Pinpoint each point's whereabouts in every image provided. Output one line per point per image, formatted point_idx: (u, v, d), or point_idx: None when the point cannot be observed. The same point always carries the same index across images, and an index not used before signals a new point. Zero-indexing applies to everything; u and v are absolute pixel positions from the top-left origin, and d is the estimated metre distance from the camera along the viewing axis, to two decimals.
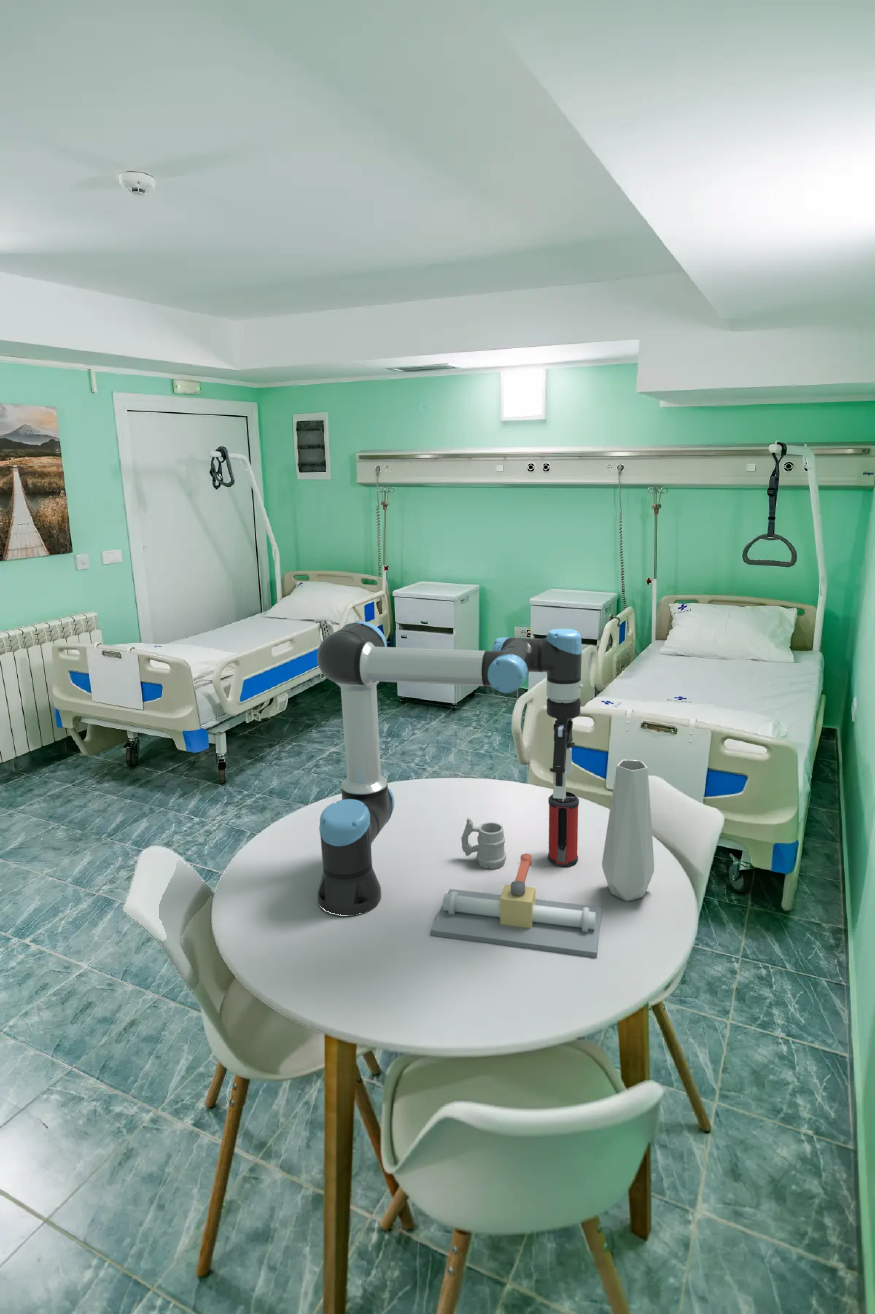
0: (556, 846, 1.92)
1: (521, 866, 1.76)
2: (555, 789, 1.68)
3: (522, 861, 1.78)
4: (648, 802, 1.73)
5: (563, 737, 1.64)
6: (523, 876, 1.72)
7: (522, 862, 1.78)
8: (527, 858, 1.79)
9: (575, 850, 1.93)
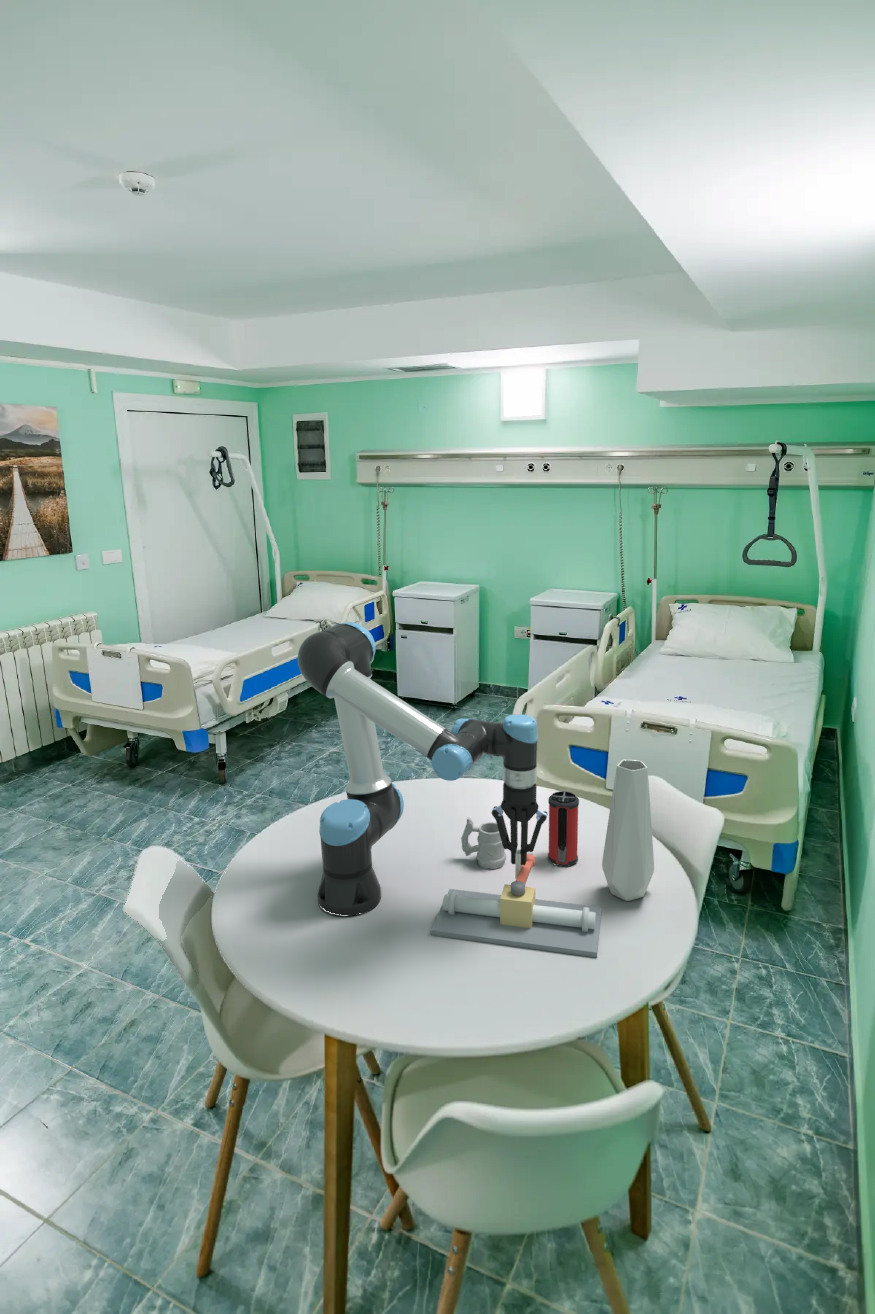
0: (556, 846, 1.92)
1: (523, 866, 1.76)
2: None
3: None
4: (648, 802, 1.73)
5: None
6: (524, 876, 1.72)
7: None
8: (530, 858, 1.78)
9: (575, 850, 1.93)
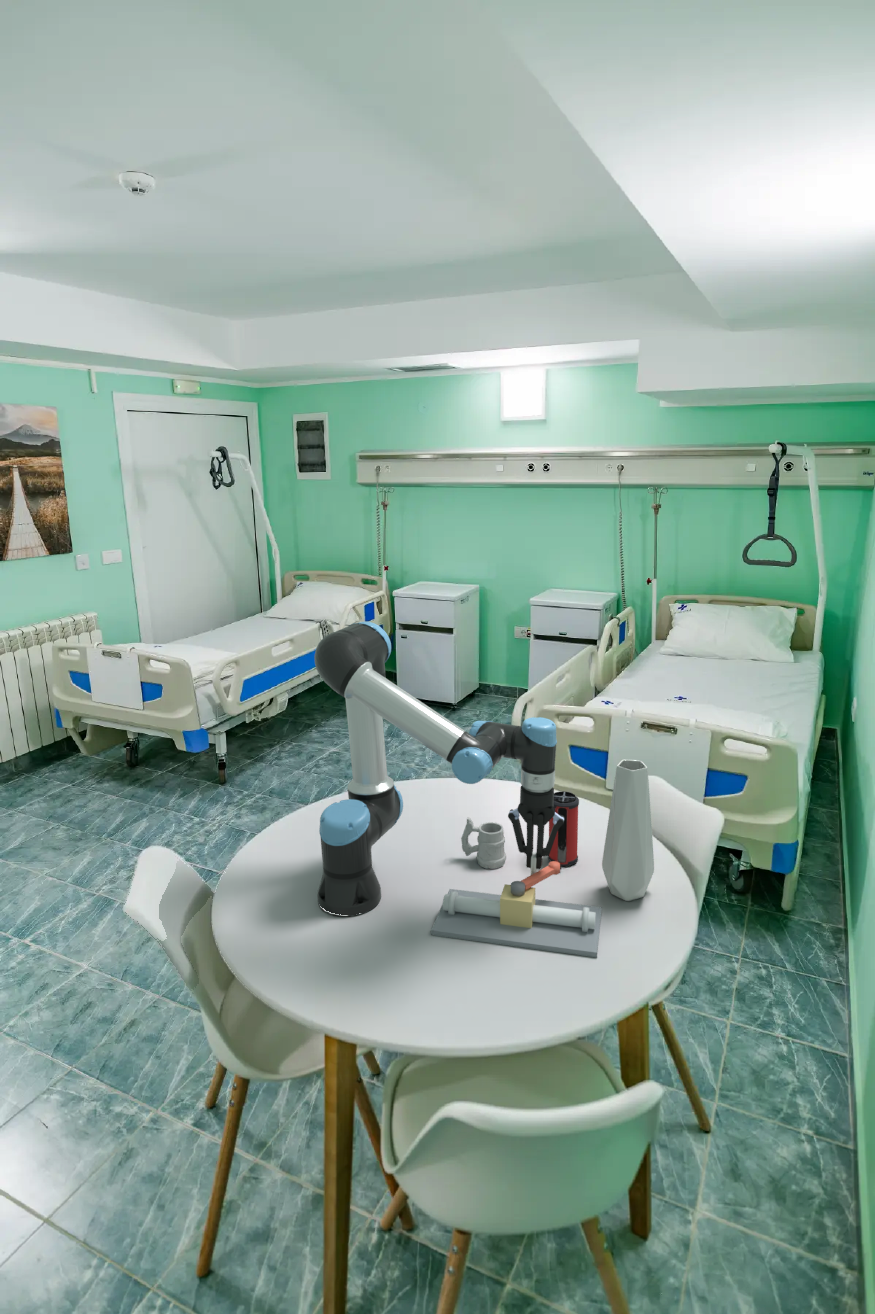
0: (556, 846, 1.92)
1: (541, 871, 1.74)
2: None
3: (547, 867, 1.75)
4: (648, 802, 1.73)
5: None
6: (532, 880, 1.70)
7: (546, 868, 1.75)
8: (553, 866, 1.75)
9: (575, 850, 1.93)
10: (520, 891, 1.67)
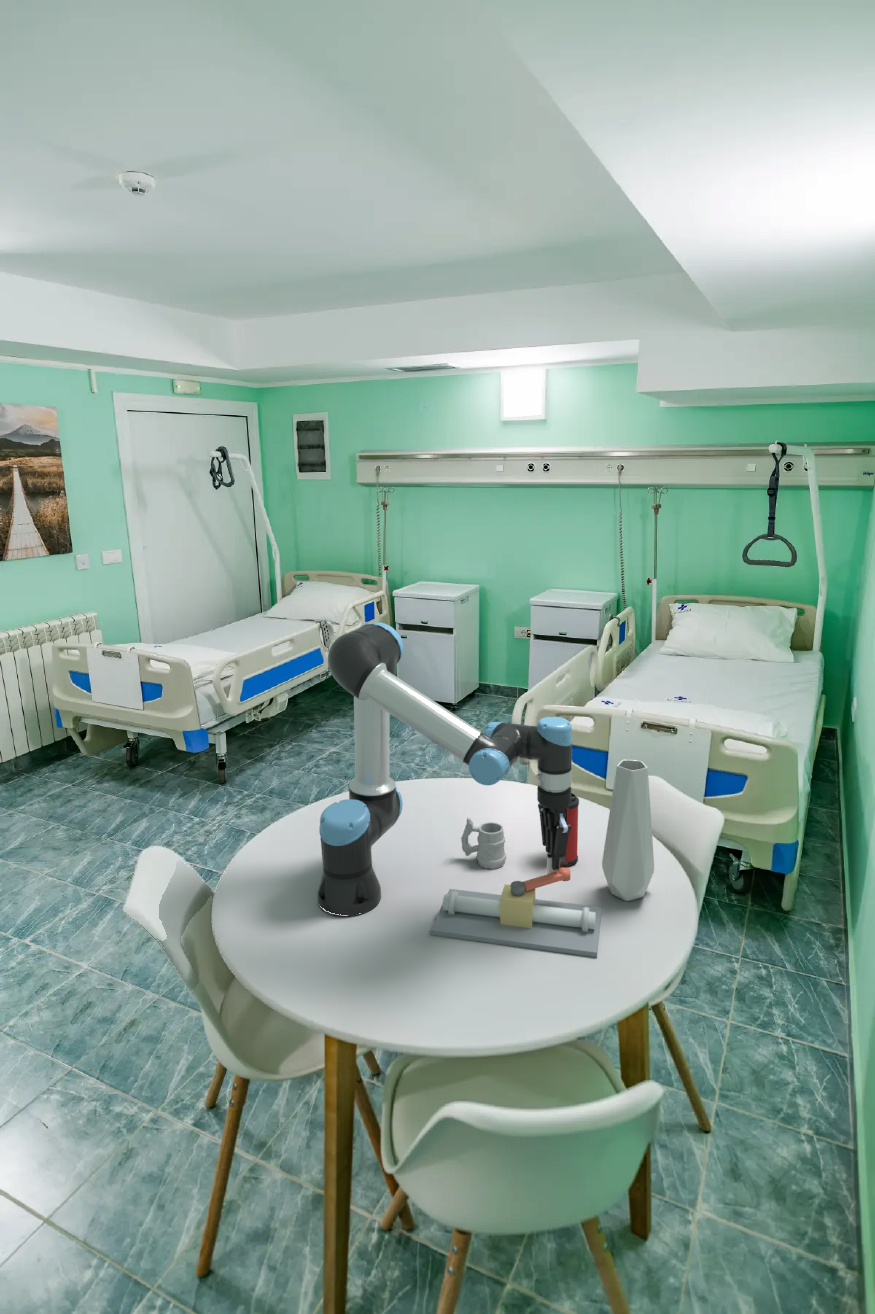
0: None
1: (548, 875, 1.72)
2: None
3: (556, 872, 1.73)
4: (648, 802, 1.73)
5: None
6: (535, 882, 1.69)
7: (555, 873, 1.73)
8: (562, 872, 1.72)
9: (575, 850, 1.93)
10: (518, 891, 1.67)
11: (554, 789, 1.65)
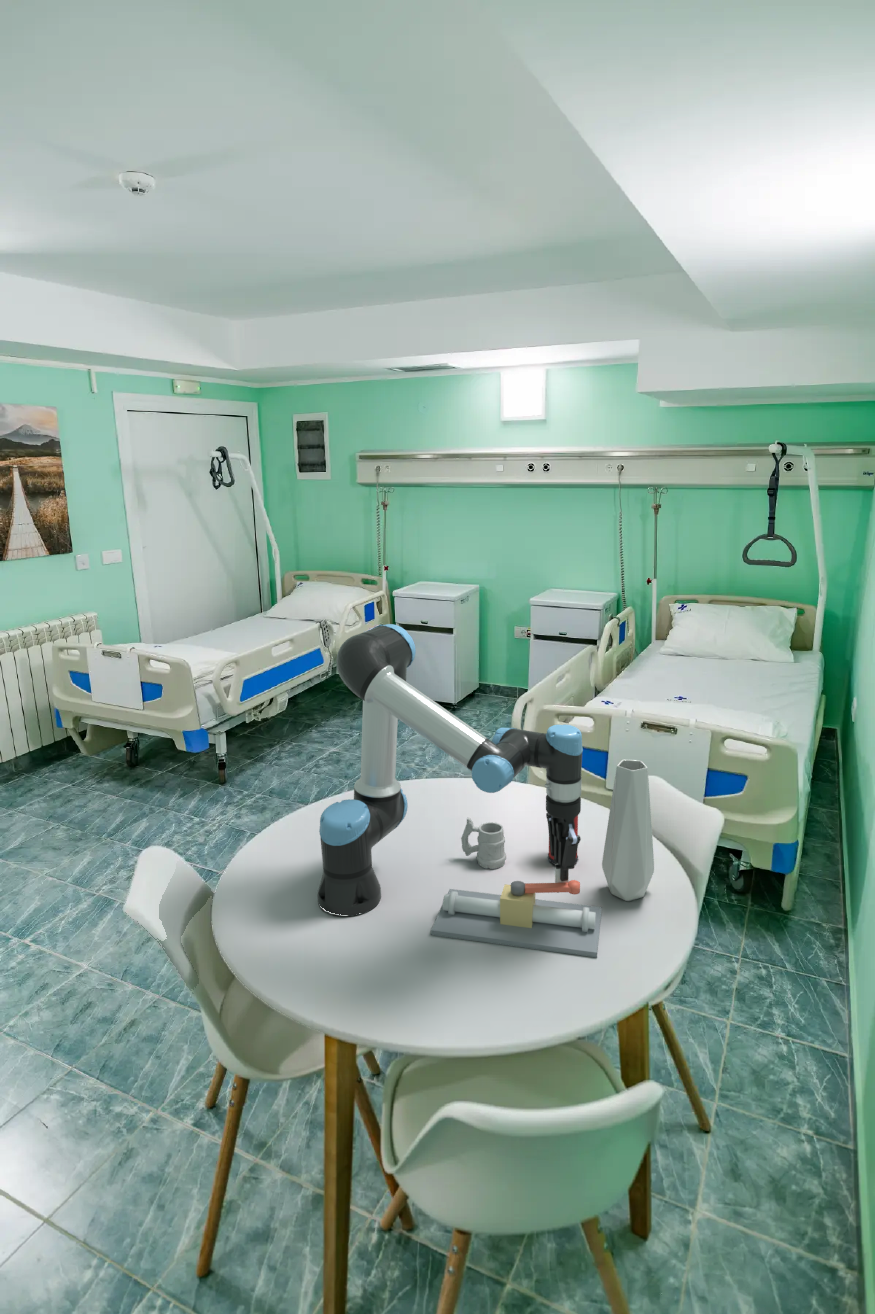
0: None
1: (555, 884, 1.68)
2: None
3: (565, 883, 1.68)
4: (648, 802, 1.73)
5: None
6: (536, 887, 1.67)
7: (563, 883, 1.68)
8: (570, 884, 1.67)
9: None
10: (515, 891, 1.67)
11: (563, 799, 1.60)
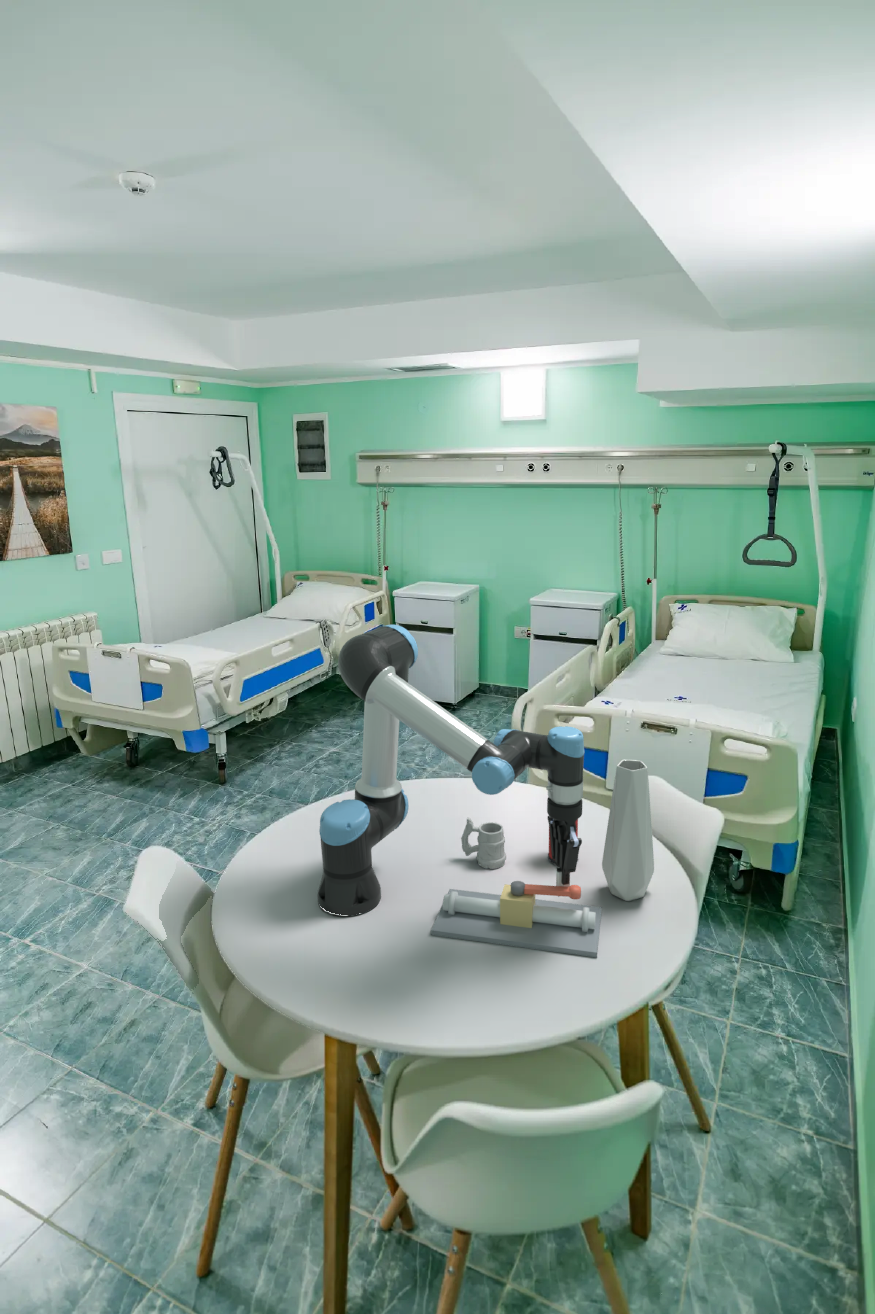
0: None
1: (556, 887, 1.67)
2: None
3: (566, 887, 1.67)
4: (648, 802, 1.73)
5: None
6: (536, 888, 1.67)
7: (564, 887, 1.67)
8: (571, 889, 1.66)
9: None
10: (514, 891, 1.67)
11: (565, 801, 1.59)
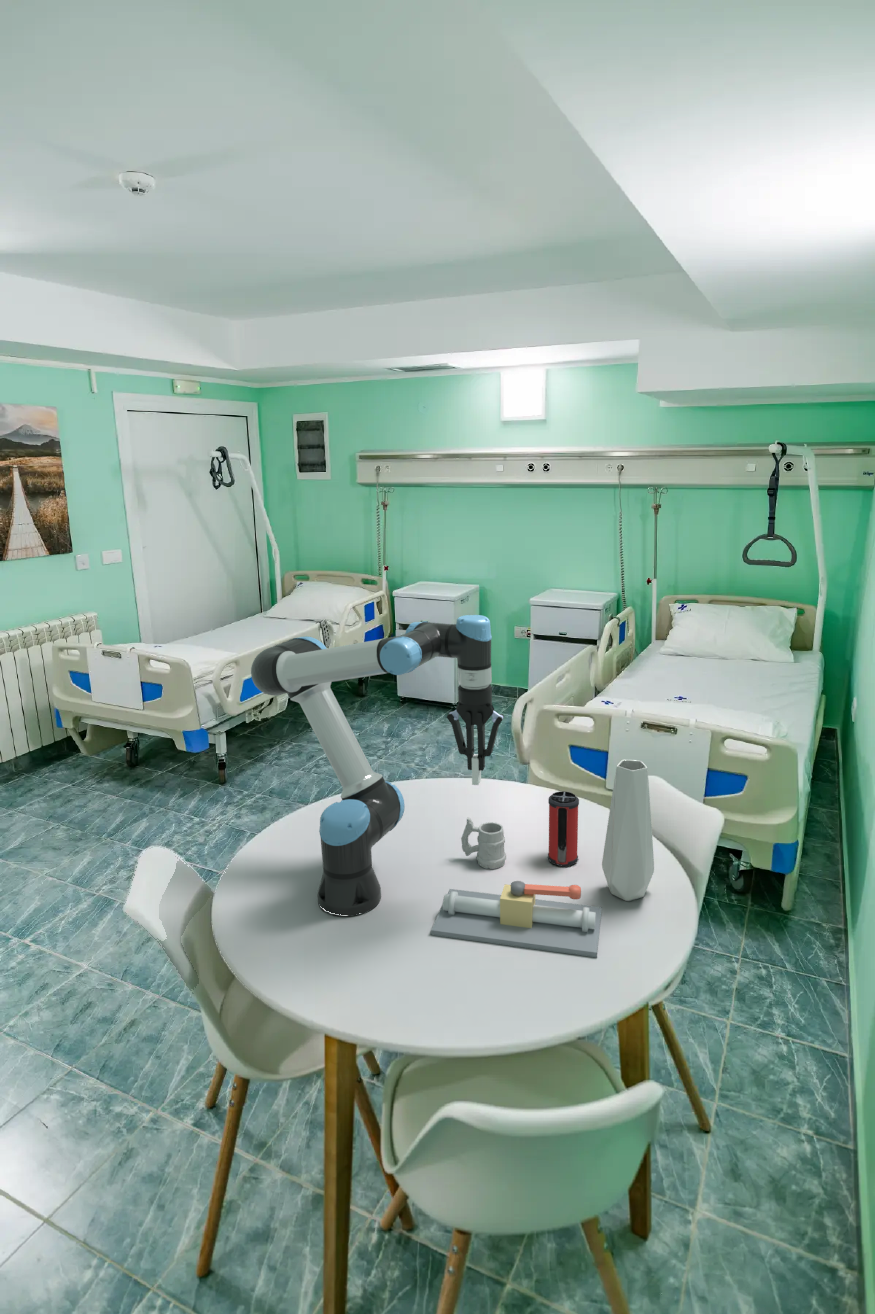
0: (556, 846, 1.92)
1: (556, 887, 1.67)
2: None
3: (566, 887, 1.67)
4: (648, 802, 1.73)
5: None
6: (536, 888, 1.67)
7: (564, 887, 1.67)
8: (571, 889, 1.65)
9: (575, 850, 1.93)
10: (514, 891, 1.67)
11: (488, 683, 1.66)
